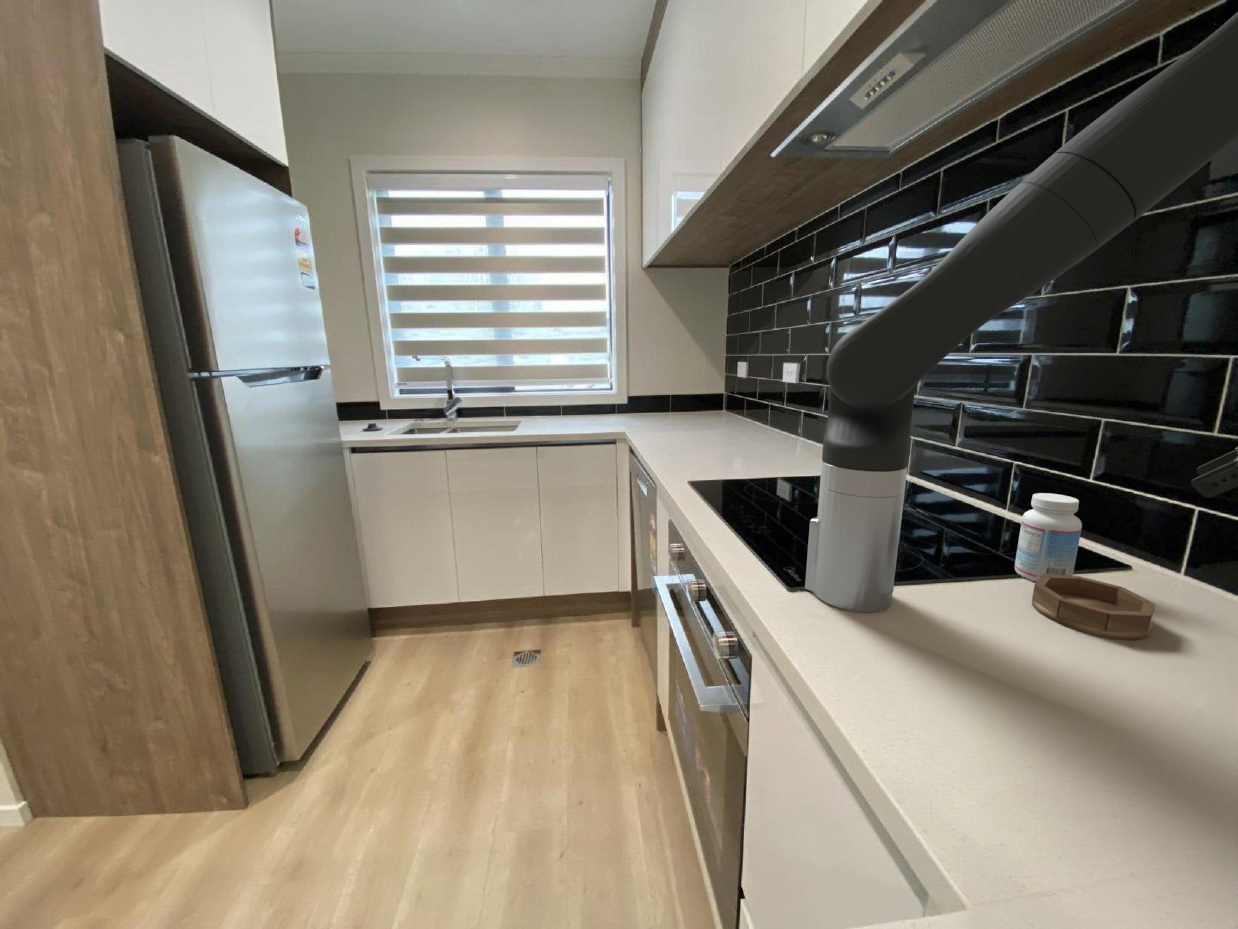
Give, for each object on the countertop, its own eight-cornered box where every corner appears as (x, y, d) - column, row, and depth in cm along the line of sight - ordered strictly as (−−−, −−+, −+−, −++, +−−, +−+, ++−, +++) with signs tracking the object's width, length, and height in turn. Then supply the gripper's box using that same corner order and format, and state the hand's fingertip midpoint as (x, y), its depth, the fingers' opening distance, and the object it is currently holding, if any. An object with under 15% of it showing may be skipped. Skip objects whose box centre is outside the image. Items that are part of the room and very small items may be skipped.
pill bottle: (1071, 575, 67) (1087, 496, 65) (1070, 591, 63) (1087, 507, 60) (1015, 563, 71) (1028, 488, 69) (1010, 577, 67) (1024, 498, 65)
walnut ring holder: (1021, 612, 58) (1025, 591, 57) (1043, 587, 64) (1047, 567, 63) (1144, 651, 50) (1150, 626, 50) (1155, 618, 56) (1160, 596, 56)
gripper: (1371, 351, 49) (1175, 448, 61) (1397, 353, 41) (1163, 465, 52) (1454, 408, 46) (1232, 499, 58) (1502, 422, 38) (1230, 526, 49)
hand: (1200, 483), depth 55 cm, fingers open, 8 cm apart
